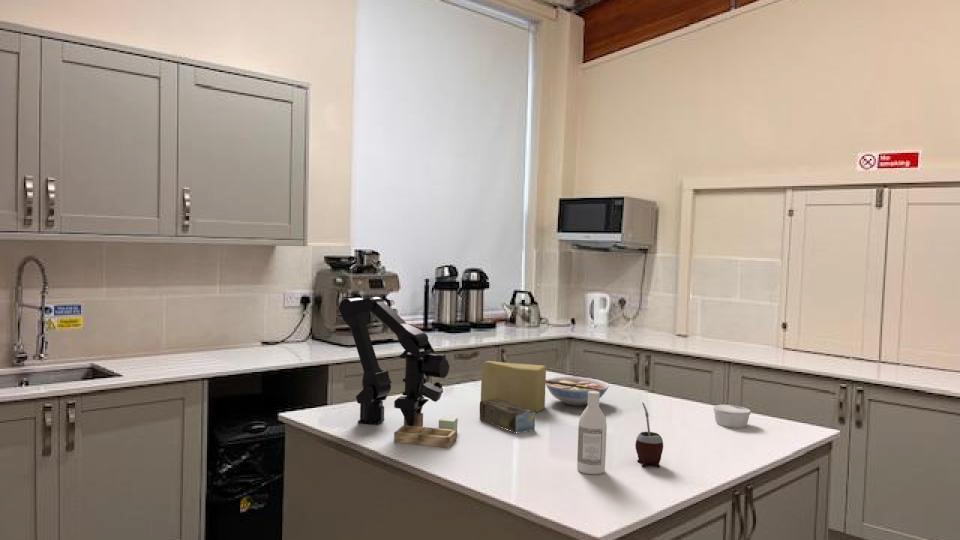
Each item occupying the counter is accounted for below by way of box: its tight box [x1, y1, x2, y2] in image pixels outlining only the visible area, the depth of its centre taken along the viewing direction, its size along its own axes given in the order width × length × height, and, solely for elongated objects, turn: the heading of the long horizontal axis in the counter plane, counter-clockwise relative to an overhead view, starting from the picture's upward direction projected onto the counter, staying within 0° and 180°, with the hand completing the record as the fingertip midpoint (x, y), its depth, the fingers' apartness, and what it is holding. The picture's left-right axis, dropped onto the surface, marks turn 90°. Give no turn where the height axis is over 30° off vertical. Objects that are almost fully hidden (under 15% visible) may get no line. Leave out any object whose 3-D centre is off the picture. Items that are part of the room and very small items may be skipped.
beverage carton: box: [479, 398, 536, 434], centre depth 215 cm, size 8×19×7 cm, turn 35°
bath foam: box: [576, 391, 607, 476], centre depth 174 cm, size 7×7×20 cm
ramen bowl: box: [545, 376, 610, 407], centre depth 246 cm, size 25×23×8 cm
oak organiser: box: [393, 424, 458, 448], centre depth 196 cm, size 16×8×3 cm, turn 77°
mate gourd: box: [634, 402, 664, 469], centre depth 181 cm, size 8×8×15 cm
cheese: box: [480, 360, 547, 413], centre depth 239 cm, size 22×10×15 cm, turn 69°
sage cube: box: [438, 416, 459, 431], centre depth 204 cm, size 4×4×4 cm
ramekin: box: [713, 404, 751, 429], centre depth 224 cm, size 11×11×5 cm
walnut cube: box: [403, 412, 424, 427], centre depth 207 cm, size 4×4×4 cm
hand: (413, 425), depth 207 cm, fingers closed on walnut cube, 4 cm apart
